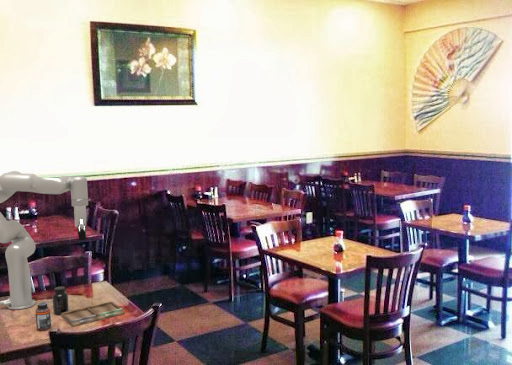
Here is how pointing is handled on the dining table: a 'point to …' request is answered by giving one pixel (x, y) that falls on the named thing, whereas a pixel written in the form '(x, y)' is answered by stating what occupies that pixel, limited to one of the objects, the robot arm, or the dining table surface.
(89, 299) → the dining table surface
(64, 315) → the socket board
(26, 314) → the dining table surface
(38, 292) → the dining table surface
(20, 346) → the dining table surface
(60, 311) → the supplement bottle
